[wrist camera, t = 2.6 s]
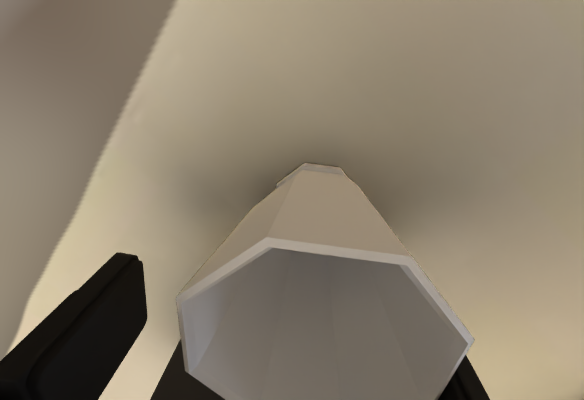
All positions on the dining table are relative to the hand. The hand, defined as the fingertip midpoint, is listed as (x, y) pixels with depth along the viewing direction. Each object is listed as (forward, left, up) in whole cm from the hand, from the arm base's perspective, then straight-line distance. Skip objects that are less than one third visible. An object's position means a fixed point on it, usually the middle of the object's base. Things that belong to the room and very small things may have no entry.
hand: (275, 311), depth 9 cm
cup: (0, +1, -6) cm, 6 cm away
